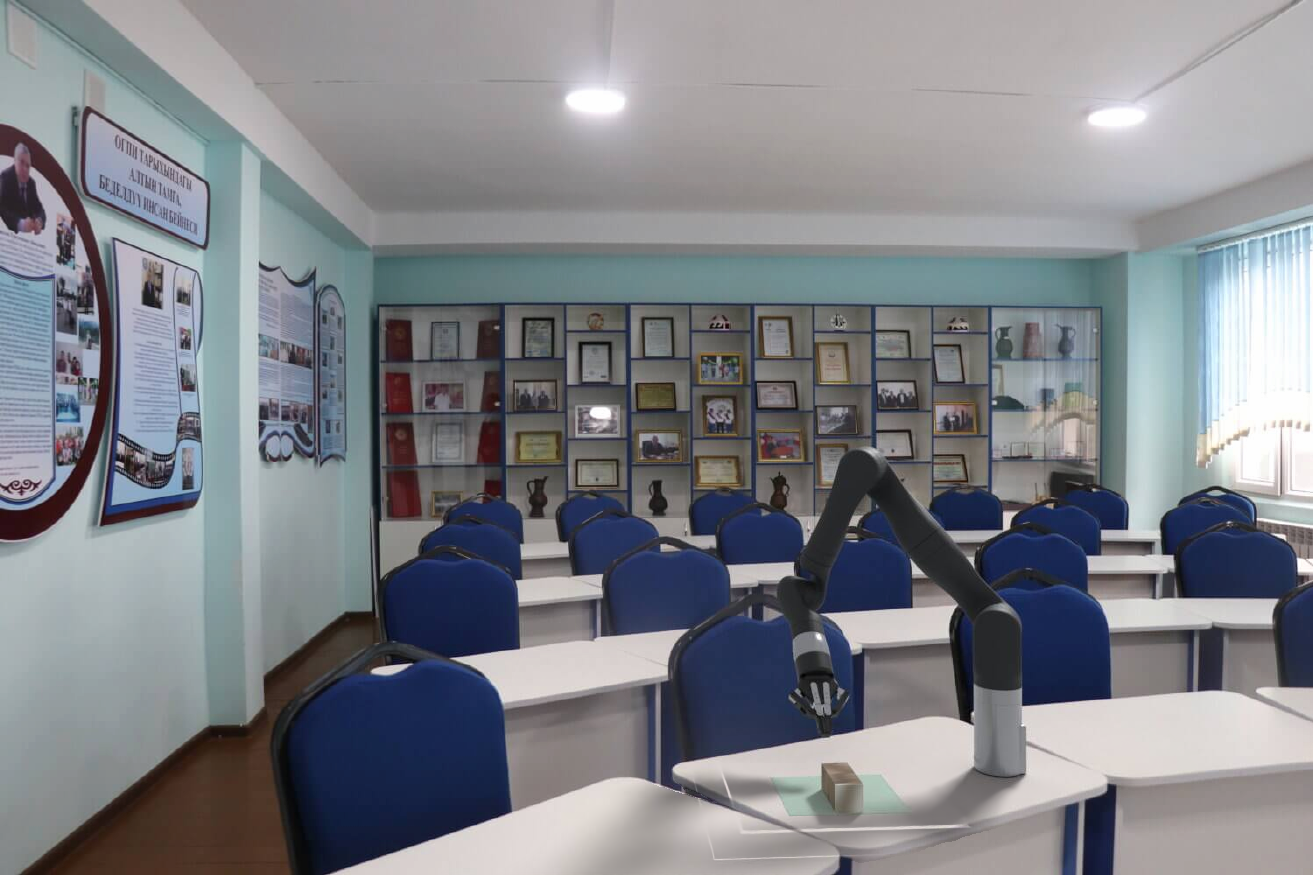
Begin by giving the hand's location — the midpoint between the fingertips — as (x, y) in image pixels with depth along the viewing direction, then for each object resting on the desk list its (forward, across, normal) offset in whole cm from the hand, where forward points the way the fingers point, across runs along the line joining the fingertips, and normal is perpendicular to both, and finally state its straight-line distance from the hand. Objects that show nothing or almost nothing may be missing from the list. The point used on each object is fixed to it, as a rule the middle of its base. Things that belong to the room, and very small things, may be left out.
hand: (826, 735), depth 190 cm
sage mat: (+12, 0, 0) cm, 12 cm away
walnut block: (+8, 0, 0) cm, 8 cm away
